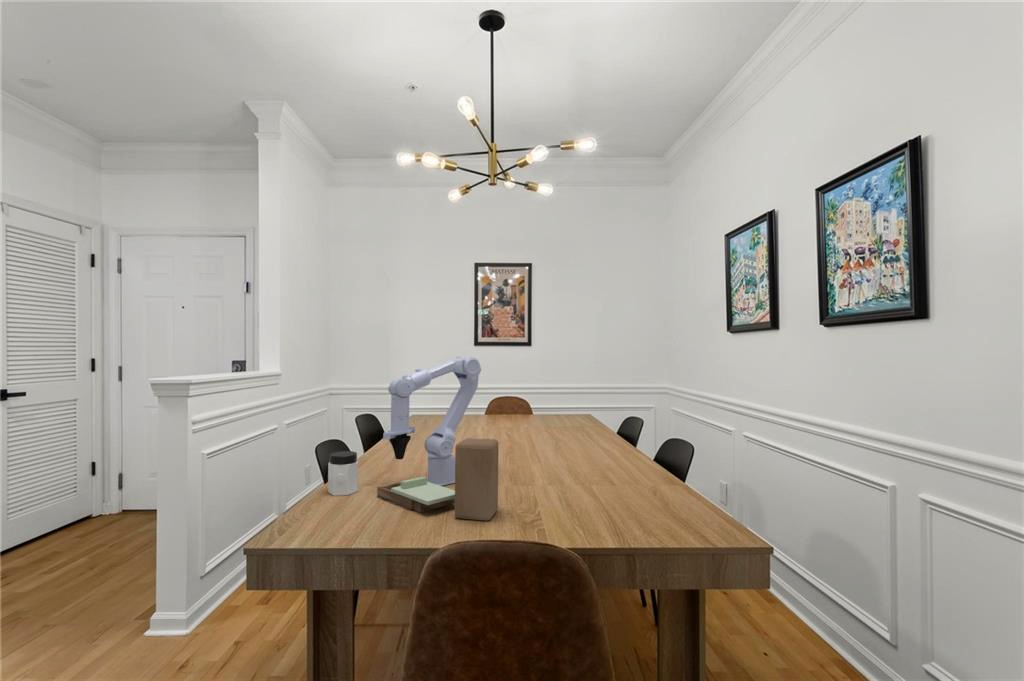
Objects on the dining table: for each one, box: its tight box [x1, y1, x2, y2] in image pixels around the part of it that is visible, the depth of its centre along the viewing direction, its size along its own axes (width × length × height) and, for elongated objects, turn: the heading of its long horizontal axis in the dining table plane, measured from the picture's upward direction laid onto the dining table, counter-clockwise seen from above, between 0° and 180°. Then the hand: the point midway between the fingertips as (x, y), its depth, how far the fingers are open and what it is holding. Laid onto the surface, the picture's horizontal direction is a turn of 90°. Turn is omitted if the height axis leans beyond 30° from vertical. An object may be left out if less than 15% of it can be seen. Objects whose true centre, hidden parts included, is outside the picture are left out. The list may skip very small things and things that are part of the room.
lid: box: [391, 476, 455, 505], centre depth 147 cm, size 12×18×3 cm, turn 45°
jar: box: [327, 450, 359, 497], centre depth 160 cm, size 9×8×12 cm
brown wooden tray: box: [376, 481, 455, 513], centre depth 154 cm, size 18×21×3 cm
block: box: [454, 437, 499, 521], centre depth 139 cm, size 10×10×20 cm
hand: (399, 458), depth 163 cm, fingers closed
